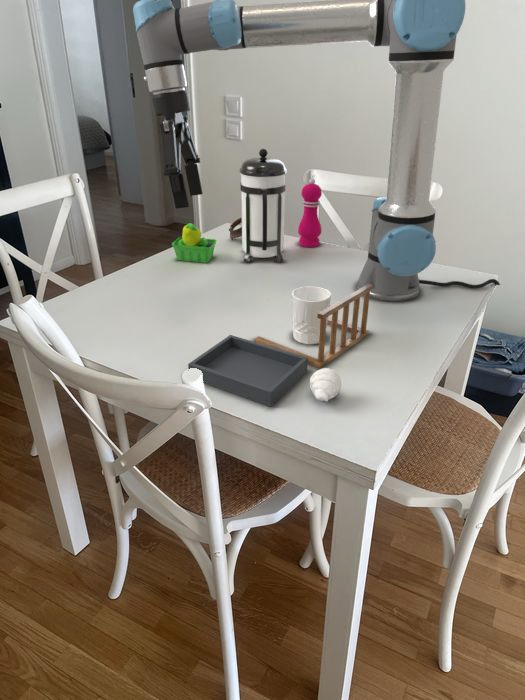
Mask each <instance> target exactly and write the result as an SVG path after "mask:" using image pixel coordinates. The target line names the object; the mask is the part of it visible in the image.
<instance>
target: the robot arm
mask: <svg viewBox="0 0 525 700" xmlns="http://www.w3.org/2000/svg"><path fill="white" fill-rule="evenodd" d="M132 12H133V19H134V24H135V35H137V37H136V38H137V41H138V46H139V49H140V53H141V54H140V55H141V59H142V62H143V68H144V72H145V76H143V80H144V82H145V83H147V86H148V92H150V93H152V95H151V96H150V102H151V107H152V112H153V115H154V116H156V117H160V116H163V120H160V121H159V122H158V123H159V128H160V134H161V135H160V136H161V149H162V160H163V175H164V177H168V178H169V184H170V188H171V192H172V197H173V202H174V207H175V209H176V210H177V209H186V208H189V207H190V203H189V202H190V201H189V198H188V197H189V196H190V197H192V196H200V195H201V196H202V195H203V189H202V188H203V187H202V182H201V177H200V171H199V166H198V164H200V163H201V157H199V154H198V151H197V148H196V144H195V140H194V138H193V134H192V131H191V128H190V123H189V118H188V115H183V113H186V112H189V111H191V109H192V106H191V100H190V95H189V92H188V90H186V88H187V87H188V82H187V78H186V77H187V76H186V72H185V67H184V63H183V55H189V54H192V53H200V52H207V51H229V50H240V49H242V50H243V49H255V48H272V47H292V46H305V45H309V46H310V45H326V44H327V45H328V44H341V43H361V42H367V43H368V44H369V45H370V46H371V47H389V48H388V49H389V50H388V64H389V66H391V68H392V69H393V70H394V72H395V80H394V81H395V83H394V93H393V94H394V95H393V107H392V109H393V111H392V123H391V135H390V148H389V161H388V162H389V164H388V176H387V191H386V196H382V197H381V196H380V197H377V198H375V200H374V201H373V205H372V209H371V213H372V214H371V222H370V223H371V224H370V230H369V231H370V233H369V241H368V252H367V259H366V261H365V263H364V266H363V268H362V270H361V273H360V274H359V277H358V280H357V288H356V289H357V290H358V289H360V288H362V287H364V286H365V285H367V284H371V285H373V290H371V291H370V298H371V299H374V300H379V301H384V302H404V301H408V300H412V299H414V298H416V297H417V296H418V295H419V293H420V284H421V285H430V286H435V287H451V286H460V287H464V288H468V289H473V290H476V289H482V288H484V287H486V286H488V285H490V284H492V283H493V284H494V285H496V286H501V283H500V282H499V281H498V280H497V279H495V278H490V279H488V280H486V281H484V282H482V283H478V284H471V283H467V282H464V281H458V280H452V281H447V282H440V281H433V280H427V279H426V280H425V279H420V278H419V275H418V274H420V273H422V272H423V271H425V270H426V269H427V268H428V267H429V266H430V265H431V264H432V262H433V260H434V258H435V256H436V251H437V244H436V239H435V236H434V229H435V220H436V212H437V211H436V208H435V206H434V205H433V204H432V203H431V201H430V197H431V196H430V195H431V188H432V187H431V186H432V177H433V170H434V169H433V168H434V159H435V153H436V152H435V151H436V141H437V134H438V124H439V116H440V106H441V105H440V104H441V98H442V90H443V89H442V88H443V79H444V72H445V70H446V69H447V68H448V67H449V66H450V65H451V64H452V63H453V62H454V59H455V51H456V45H457V44H456V43H457V35H458V33H459V31H460V30H461V27H462V26H463V22H464V19H465V16H466V0H309V1H296V2H295V1H294V2H283V3H282V2H281V3H268V4H255V5H242V6H239V5H237V3H236V1H235V0H213V1H209V2H203V3H199V4H195V5H189V6H185V7H175V6H174V5H173V2H172V0H138V1H136V2H135V3H134V4H133V8H132ZM182 159H183V161H184V163H185V165H184V170H185V175H186V180H187V186H188V190H189V196H188V192H187V187H186V182H185V177H184V173H183V172H182ZM370 298H369V299H370Z"/></svg>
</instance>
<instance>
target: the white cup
mask: <svg viewBox="0 0 525 700" xmlns="http://www.w3.org/2000/svg"><path fill="white" fill-rule="evenodd" d="M331 298H332V293H331V292H330V291H329V290H328V289H326V288H323V287H321V286H314V285H306V286H300V287H297V288H295V289H293V290H292V291H291V303H292V304H291V318H292V337H293V339H294V341H296V342H298V343H300V344H304V345H317V344H319V334H320V319H319V318H317V315H318V313H319V312H321V311H322V310H324V309H326V308H327V307H329V306H331V300H332V299H331ZM328 317H329V316H328ZM328 317H327V319H326V328H327V327H328V324H327V322H328Z"/></svg>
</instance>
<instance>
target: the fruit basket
mask: <svg viewBox="0 0 525 700" xmlns="http://www.w3.org/2000/svg"><path fill="white" fill-rule="evenodd" d="M181 235H182V236H179V237H178V238H176V239H175V240H174V241H173V242H172V243H171V246H172V248H173V250H174V253H175V256H176V259H177V261H184V262H195V263H204V264H207V263H209V261H210V260H211V259H212V258H213V255H214V252H215V247H216V244H217V239H214V238H205V237H202V231H201V230H200V229H199V228H197V226H195V225H194V223H192V222H191V223H187V224H186V225H184V226H183V228H182V233H181Z"/></svg>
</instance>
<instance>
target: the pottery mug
mask: <svg viewBox="0 0 525 700" xmlns="http://www.w3.org/2000/svg"><path fill="white" fill-rule="evenodd" d="M240 224H242V217H239V218H237V219H236V220H234V221H233V222H232V223H231V224H230V225H229V228H228V231H229V238H230V239H231V240H232V241H233V240H234V239H239V238H240V237H242V226H240V227H238V225H240ZM236 227H238V228H237V229H235V228H236Z"/></svg>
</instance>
